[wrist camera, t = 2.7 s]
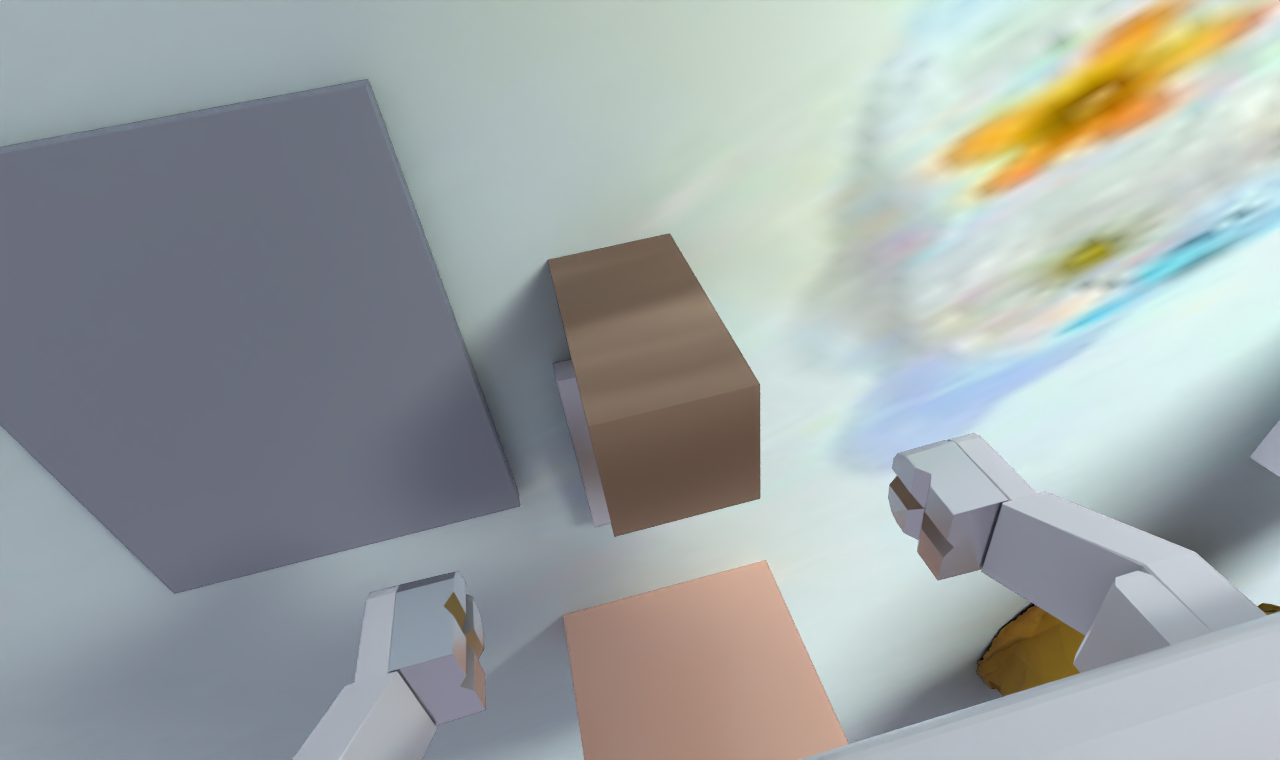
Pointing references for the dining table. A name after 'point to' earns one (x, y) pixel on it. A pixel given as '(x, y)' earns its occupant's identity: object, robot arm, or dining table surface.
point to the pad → (238, 337)
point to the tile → (698, 675)
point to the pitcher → (1037, 651)
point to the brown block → (653, 388)
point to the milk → (1269, 451)
